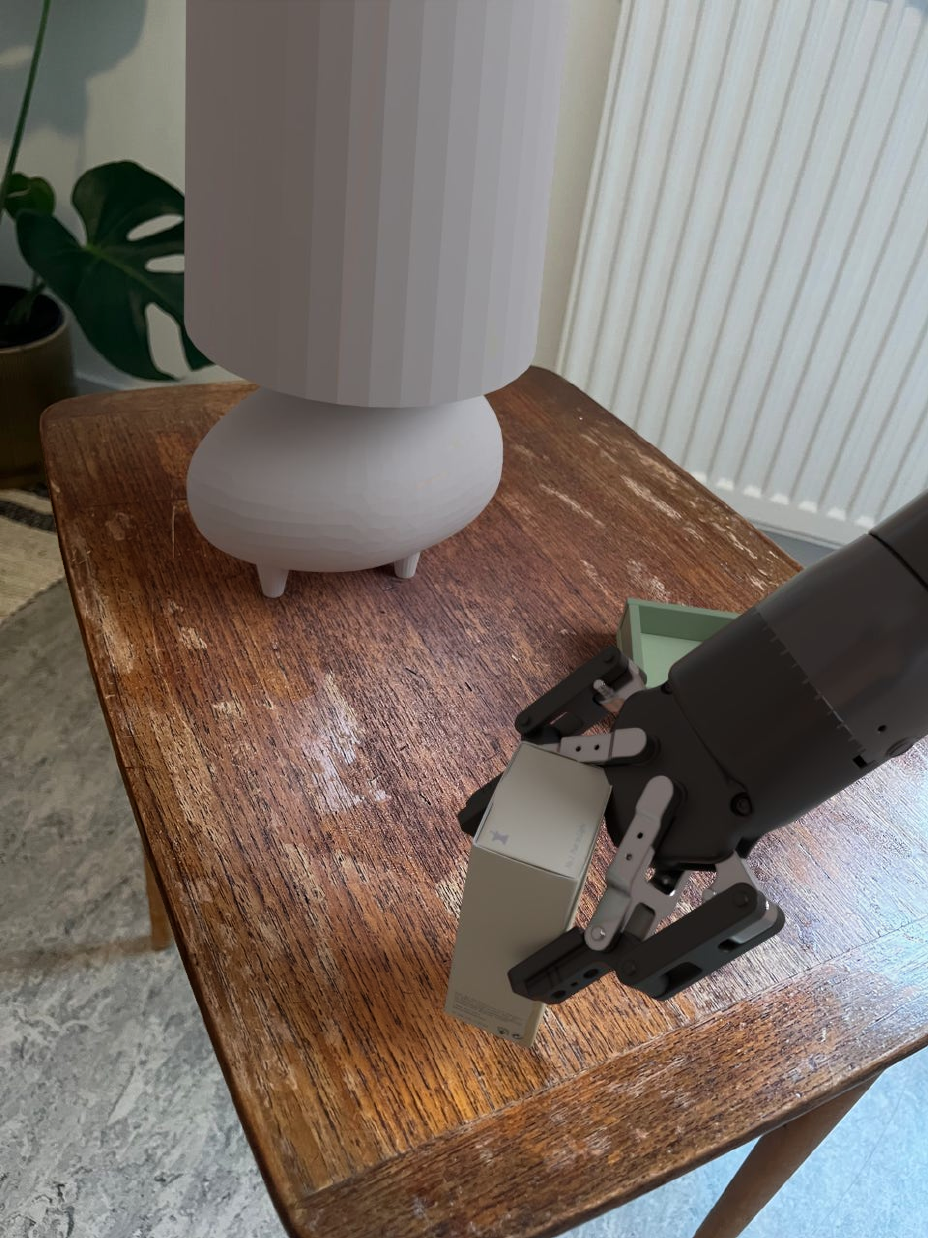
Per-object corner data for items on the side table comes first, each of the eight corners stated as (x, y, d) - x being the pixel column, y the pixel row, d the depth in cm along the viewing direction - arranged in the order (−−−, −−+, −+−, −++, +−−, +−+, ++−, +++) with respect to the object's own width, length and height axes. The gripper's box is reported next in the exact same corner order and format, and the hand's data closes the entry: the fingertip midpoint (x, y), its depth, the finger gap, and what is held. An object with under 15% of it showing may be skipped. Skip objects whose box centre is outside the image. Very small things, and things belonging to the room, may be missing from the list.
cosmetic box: (530, 1054, 42) (581, 890, 35) (437, 1014, 43) (466, 846, 36) (570, 938, 47) (622, 771, 39) (485, 904, 48) (520, 735, 40)
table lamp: (260, 711, 60) (239, -75, 34) (144, 526, 73) (66, -142, 47) (553, 612, 71) (702, -40, 45) (406, 467, 84) (457, -102, 58)
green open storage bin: (771, 752, 62) (789, 714, 60) (621, 731, 62) (634, 692, 60) (749, 652, 70) (764, 615, 68) (615, 633, 70) (626, 596, 68)
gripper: (697, 518, 40) (400, 746, 44) (902, 784, 29) (487, 1049, 33) (770, 608, 44) (496, 805, 49) (969, 864, 34) (598, 1087, 38)
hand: (493, 904), depth 41 cm, fingers closed on cosmetic box, 7 cm apart
